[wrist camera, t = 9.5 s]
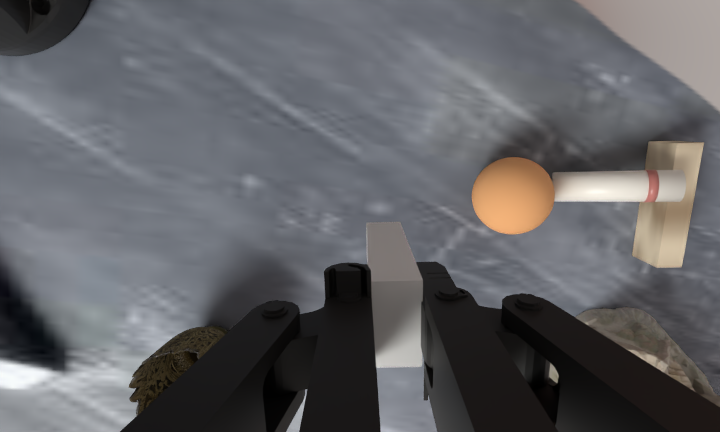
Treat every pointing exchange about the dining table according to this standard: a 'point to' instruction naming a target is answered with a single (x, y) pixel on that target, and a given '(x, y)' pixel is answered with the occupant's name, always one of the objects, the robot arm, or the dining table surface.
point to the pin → (620, 186)
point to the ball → (513, 195)
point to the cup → (171, 363)
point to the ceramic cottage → (646, 345)
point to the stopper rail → (667, 206)
